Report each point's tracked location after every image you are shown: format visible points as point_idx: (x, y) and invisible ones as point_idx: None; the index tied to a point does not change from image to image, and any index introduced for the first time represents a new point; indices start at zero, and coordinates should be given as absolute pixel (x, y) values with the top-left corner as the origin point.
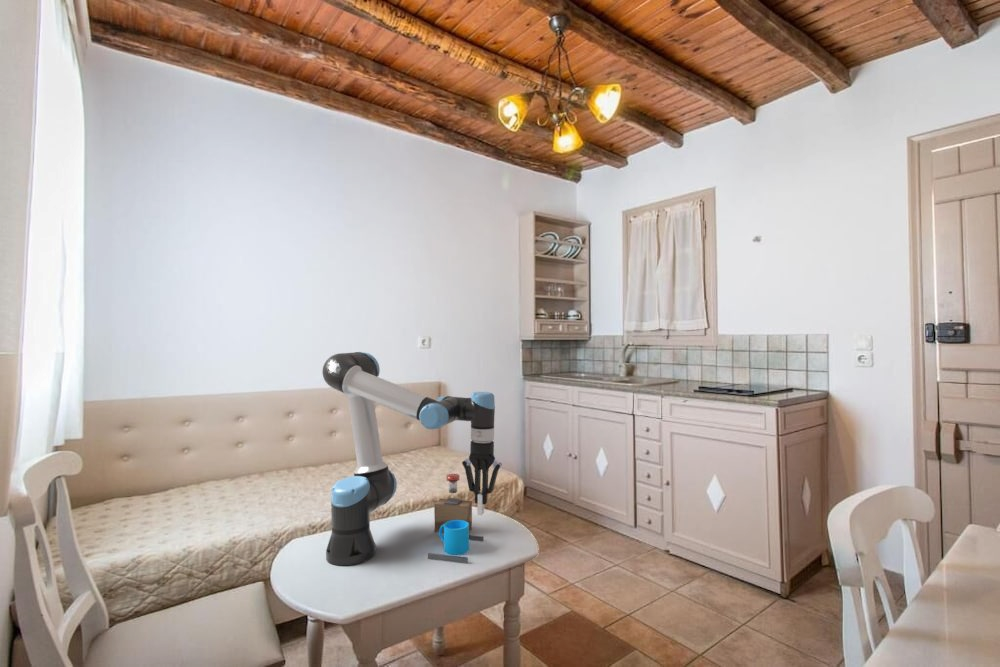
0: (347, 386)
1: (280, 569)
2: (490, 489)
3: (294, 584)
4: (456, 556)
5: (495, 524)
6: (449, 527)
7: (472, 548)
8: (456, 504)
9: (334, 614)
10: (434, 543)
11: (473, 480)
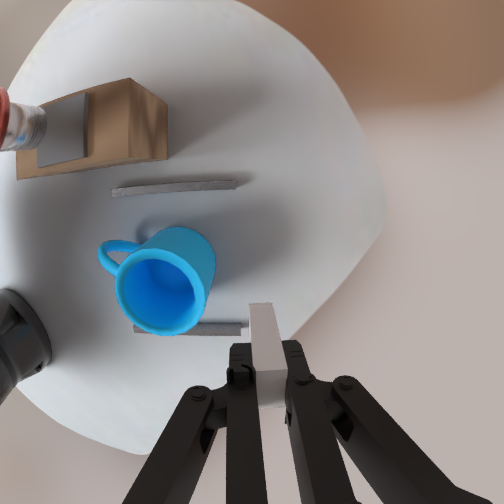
0: None
1: None
2: (347, 427)
3: (43, 405)
4: (208, 331)
5: (235, 49)
6: (131, 274)
7: (221, 244)
8: (82, 158)
9: (134, 453)
10: None
11: (195, 440)
